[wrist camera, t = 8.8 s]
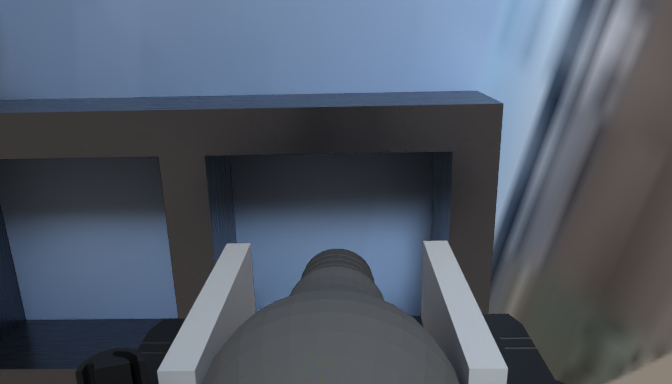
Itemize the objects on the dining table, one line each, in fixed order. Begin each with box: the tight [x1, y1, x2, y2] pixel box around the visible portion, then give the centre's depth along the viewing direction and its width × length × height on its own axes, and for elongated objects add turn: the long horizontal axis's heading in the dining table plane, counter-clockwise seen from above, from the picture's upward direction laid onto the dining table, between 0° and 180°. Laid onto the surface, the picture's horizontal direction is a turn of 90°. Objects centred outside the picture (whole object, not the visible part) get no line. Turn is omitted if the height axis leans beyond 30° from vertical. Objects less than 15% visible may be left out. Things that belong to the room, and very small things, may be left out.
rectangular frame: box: [0, 91, 503, 384], centre depth 20 cm, size 11×20×4 cm, turn 91°
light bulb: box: [202, 249, 460, 384], centre depth 13 cm, size 6×6×10 cm
